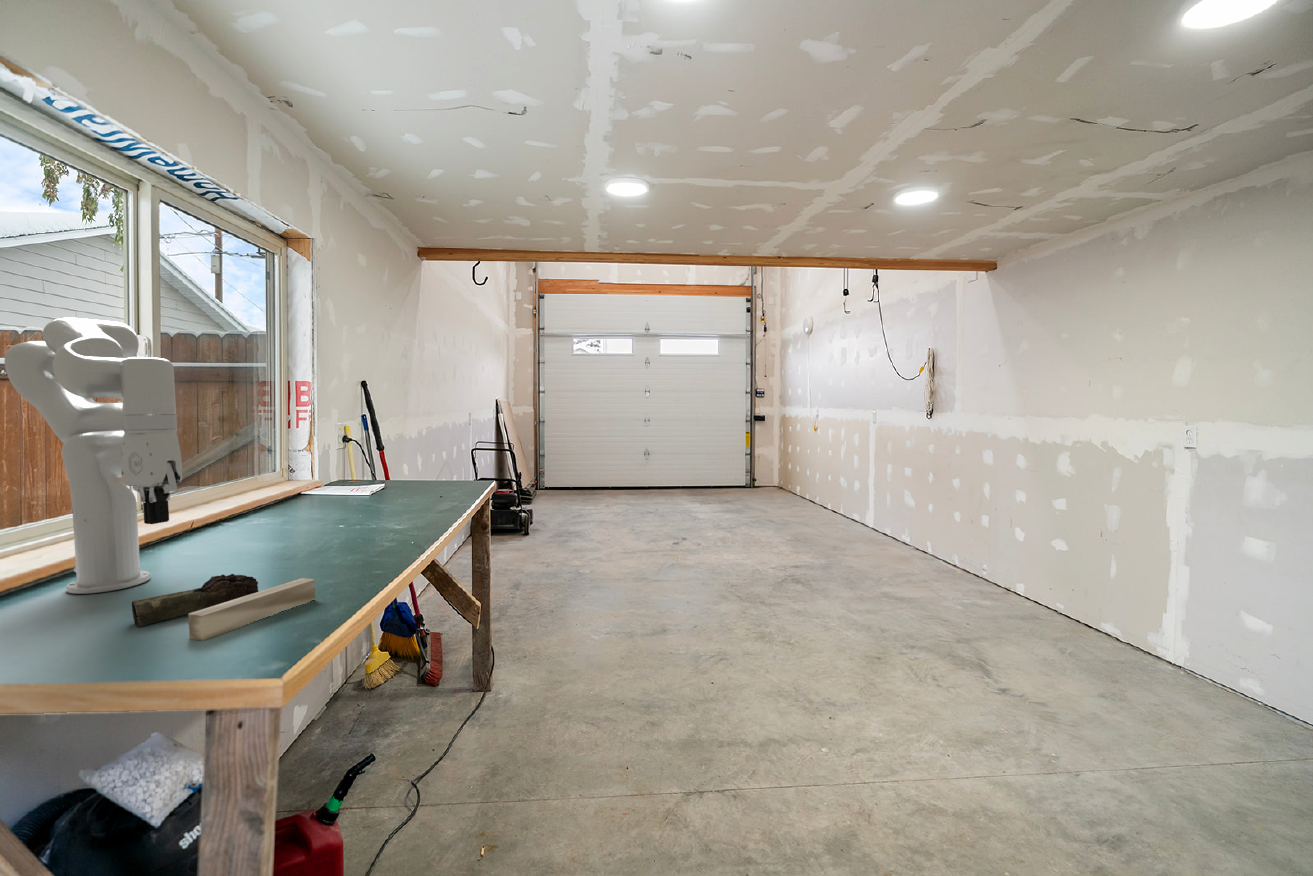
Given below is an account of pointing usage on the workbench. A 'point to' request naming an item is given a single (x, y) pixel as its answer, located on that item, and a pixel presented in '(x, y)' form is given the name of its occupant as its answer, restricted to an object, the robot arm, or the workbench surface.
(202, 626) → the bar
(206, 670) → the workbench surface
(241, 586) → the brown long lumpy piece
